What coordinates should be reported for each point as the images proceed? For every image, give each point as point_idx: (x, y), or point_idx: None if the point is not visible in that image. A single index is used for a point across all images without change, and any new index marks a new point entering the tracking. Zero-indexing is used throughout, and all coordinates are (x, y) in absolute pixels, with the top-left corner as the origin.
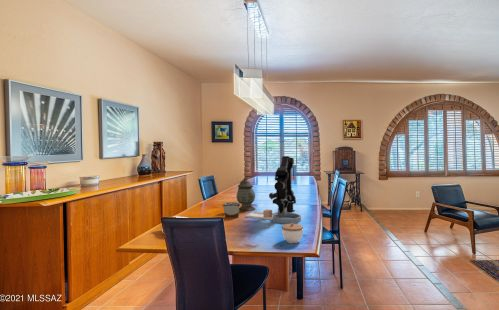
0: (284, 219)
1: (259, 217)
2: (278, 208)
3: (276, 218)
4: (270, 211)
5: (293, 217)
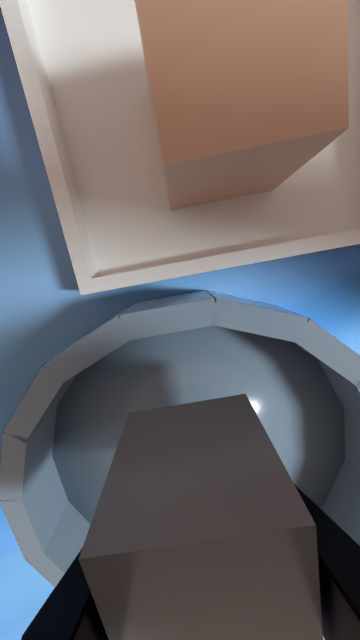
0: (28, 555)
1: (23, 69)
2: (86, 569)
3: (4, 453)
4: (228, 161)
5: (331, 464)
